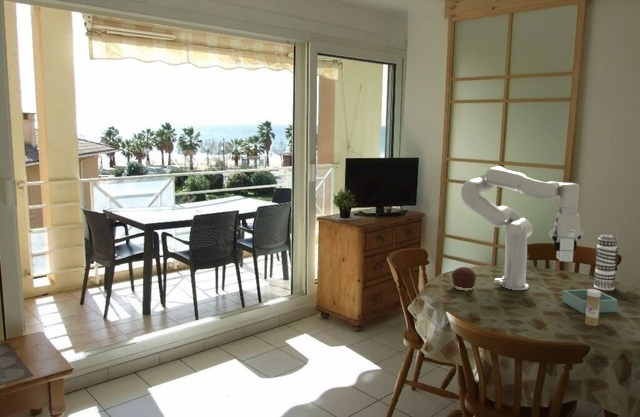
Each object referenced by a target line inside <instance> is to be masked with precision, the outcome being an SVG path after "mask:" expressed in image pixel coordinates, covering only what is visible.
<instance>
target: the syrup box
mask: <svg viewBox="0 0 640 417" xmlns="http://www.w3.org/2000/svg"><path fill="white" fill-rule="evenodd" d="M569 231H570V232H569ZM569 231H568V232H569V236H568V237H560V241H559V242H560V251H556V255H555V256H556V259H557V260H558V261H559V262H566V263H567V262H571V263H572V262H573V260H574V250H573V249H574V232H575V230H571V229H570V230H569Z"/></svg>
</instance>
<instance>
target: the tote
mask: <svg viewBox="0 0 640 417" xmlns="http://www.w3.org/2000/svg"><path fill="white" fill-rule="evenodd" d="M588 289H589V288H588ZM588 289H565V290H562V303H563V304H564V303H565V304H566V305H568V307H569V306H570V307H571V308H572V309H575V310H576V311H578V312H580V313H581V314H586V307H587V290H588ZM617 310H618V299H616V298H615V297H612V296H610V295H609V294H606V293H604V292H602V291H601V296H600V306H599V314H600V313H617Z"/></svg>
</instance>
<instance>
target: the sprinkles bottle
mask: <svg viewBox="0 0 640 417" xmlns="http://www.w3.org/2000/svg"><path fill="white" fill-rule="evenodd" d="M586 290H587V289H586ZM601 292H602V291H600V289H599V290H598V289H597V288H595V289H594V288H588V290H587V307H586V313H585V321H584V323H585V324H586V325H587V326H590V327H597V326H599V317H600V313H599V306H600V296H601Z"/></svg>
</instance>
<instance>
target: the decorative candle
mask: <svg viewBox="0 0 640 417" xmlns="http://www.w3.org/2000/svg"><path fill="white" fill-rule="evenodd" d="M597 239H598V241H597V246H596V247H597V248H596V249H595V257H594V258H595V261H594V262H595V263H596V267H595V272H594V279H593V281H594V282H593V287H594V288H595V289H596V290H598V289H599V290H602V291H613V290H615V286H616V284H615V283H616V281H615V280H616V270H615V268H616V265H617V262H616V261H618V259H617V258H618V255H617V254H618V253H619V252H618V250H619V248H618V246H617V243H618V239H617V238H616V237H615V235H611V234H601V235H600V236H599V237H597Z"/></svg>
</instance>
